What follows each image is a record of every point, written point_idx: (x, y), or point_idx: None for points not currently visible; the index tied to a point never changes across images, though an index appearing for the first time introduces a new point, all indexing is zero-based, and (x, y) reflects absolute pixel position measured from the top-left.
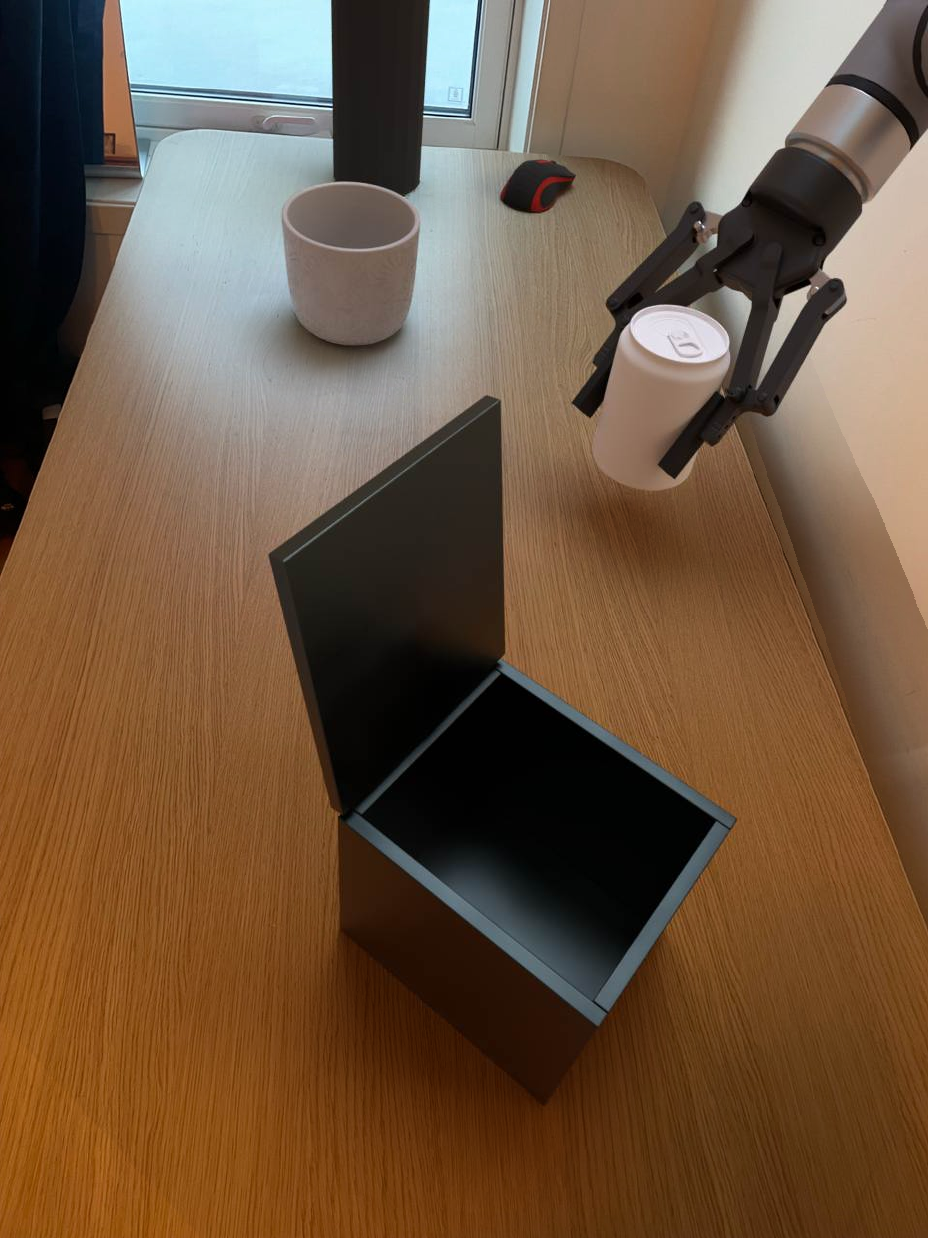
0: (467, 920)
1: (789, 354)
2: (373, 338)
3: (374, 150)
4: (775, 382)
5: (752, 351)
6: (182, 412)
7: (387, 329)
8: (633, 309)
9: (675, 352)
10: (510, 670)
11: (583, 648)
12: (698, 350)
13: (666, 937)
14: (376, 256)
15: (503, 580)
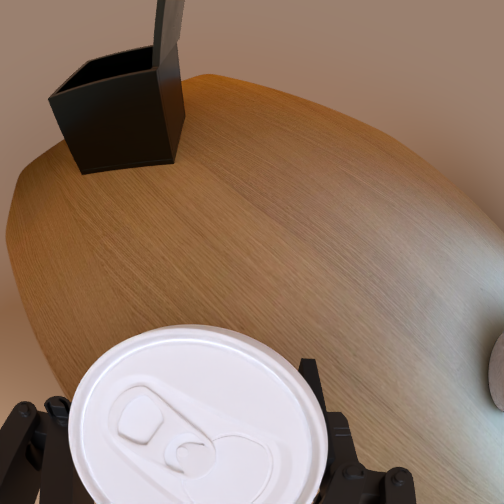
0: (126, 50)
1: None
2: (491, 363)
3: None
4: (6, 427)
5: (46, 479)
6: (469, 235)
7: (494, 374)
8: (356, 494)
9: (158, 393)
10: (147, 71)
11: (164, 258)
12: (116, 424)
13: (80, 173)
14: None
15: (155, 21)
